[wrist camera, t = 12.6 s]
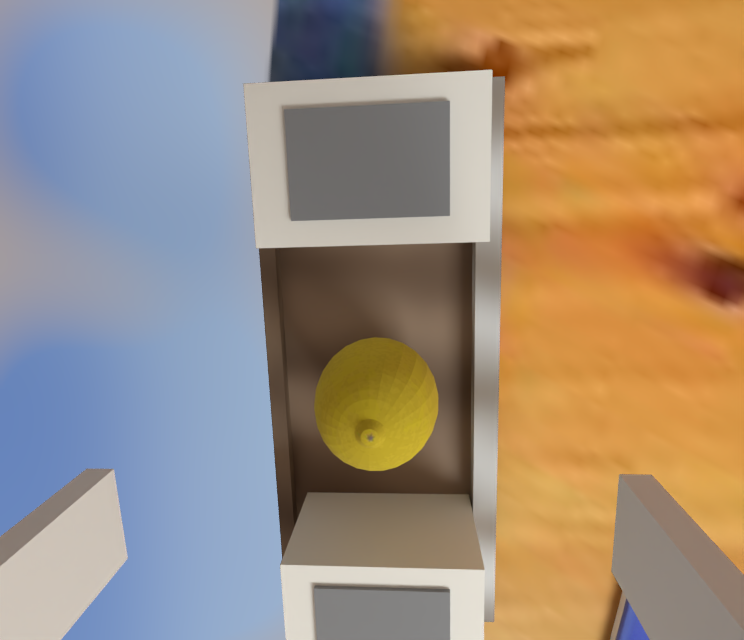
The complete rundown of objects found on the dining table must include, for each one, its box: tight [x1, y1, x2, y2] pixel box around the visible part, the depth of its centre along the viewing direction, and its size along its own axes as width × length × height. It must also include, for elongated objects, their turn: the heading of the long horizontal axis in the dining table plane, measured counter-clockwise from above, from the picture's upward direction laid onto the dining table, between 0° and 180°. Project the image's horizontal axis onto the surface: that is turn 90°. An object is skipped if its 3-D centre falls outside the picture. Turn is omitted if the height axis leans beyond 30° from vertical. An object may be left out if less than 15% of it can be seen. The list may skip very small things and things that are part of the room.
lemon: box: [314, 337, 438, 471], centre depth 22 cm, size 6×6×8 cm
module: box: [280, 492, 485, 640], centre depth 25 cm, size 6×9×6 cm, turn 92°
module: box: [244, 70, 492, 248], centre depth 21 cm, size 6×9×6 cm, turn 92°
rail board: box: [259, 77, 505, 622], centre depth 26 cm, size 28×12×3 cm, turn 2°
